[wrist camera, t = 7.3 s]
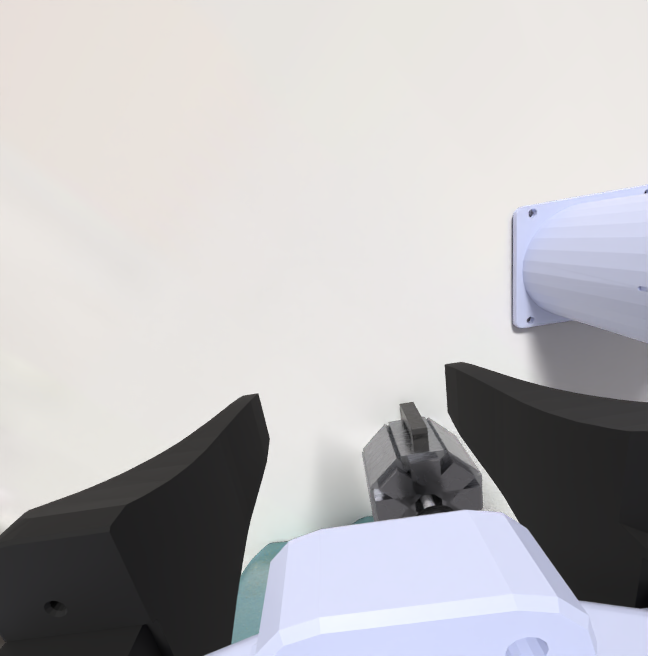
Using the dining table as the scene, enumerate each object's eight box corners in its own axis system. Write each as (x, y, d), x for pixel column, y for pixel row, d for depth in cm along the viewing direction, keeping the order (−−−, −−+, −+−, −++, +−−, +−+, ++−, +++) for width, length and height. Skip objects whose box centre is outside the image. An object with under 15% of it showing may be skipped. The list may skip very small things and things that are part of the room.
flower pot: (241, 526, 27) (202, 663, 18) (341, 516, 26) (350, 650, 18) (259, 597, 29) (232, 749, 20) (351, 589, 29) (363, 739, 20)
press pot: (454, 391, 23) (484, 425, 19) (459, 491, 26) (487, 540, 21) (354, 406, 23) (361, 443, 19) (370, 503, 26) (379, 554, 22)
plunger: (432, 449, 23) (468, 519, 17) (434, 480, 24) (470, 558, 18) (393, 454, 23) (416, 526, 18) (396, 486, 24) (420, 564, 18)
